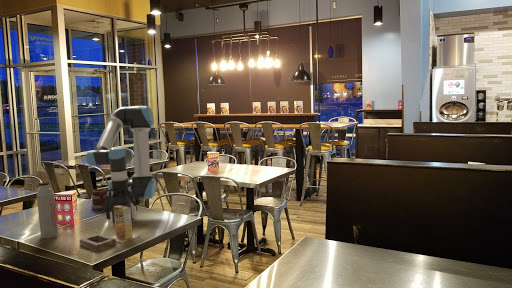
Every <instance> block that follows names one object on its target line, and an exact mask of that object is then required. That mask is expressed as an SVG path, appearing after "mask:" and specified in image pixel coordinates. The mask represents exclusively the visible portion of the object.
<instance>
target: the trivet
mask: <svg viewBox="0 0 512 288" xmlns="http://www.w3.org/2000/svg"><path fill="white" fill-rule="evenodd" d="M132 236H133V237H132V238H129V239H124V238H120V237H117V236H116V235H114V236H110V237H111V238H115V239H116V243H119V244H123V243H126V242H130V241H133V240H135V239H138V238H140V237H141V235H140V234H136V233H132Z"/></svg>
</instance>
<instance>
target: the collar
mask: <svg viewBox="0 0 512 288" xmlns="http://www.w3.org/2000/svg"><path fill="white" fill-rule="evenodd" d="M111 237H112V236H108V235H104V234H102V233H101V234H100V233H96V234H93V235H89V236H86V237H83V238H80V239H79V246H80V247H83V248H85V247H86V249H87V250H92V251H93V252H97V253H98V252H101V251H104V250H106V249H109V248H111V247H115V246H117V242H116V239H115V238H111Z"/></svg>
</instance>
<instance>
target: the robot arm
mask: <svg viewBox="0 0 512 288" xmlns="http://www.w3.org/2000/svg"><path fill="white" fill-rule="evenodd" d="M154 118H155V117H154V113H153V111H152V108H151V107H150V106H147V105H135V106H134V105H133V106H122V107H119V108H117V109H116V110H114V111H113V112H111V113H110V115H108V117H107V119H106V120H105V127H104V130H103V132H102V133H101V135H100V138H99V140H98V141H97V144H96V146H95V148H94V150H89V151H87V152H86V154H85V155H86V157H85V160H86V163H87V165H88V166H96V167H97V166H109V168H110V170H109V171H110V179H111V180H110V181H108V183H107V192H106V199H105V202H104V205H103V208H102V210H101V212H103V213H105V218H106V219H107V224H108V226H111V227H113V226H114V222H115V217H114V206H118V205H122V206H127V207H131V219H138V217H137V212H138V206H139V204H140V203H141V201H140V200H149V199H153V198H154V196H155V194H156V190H157V180H156V178H154V177H153V174H152V173H151V170H150V167H151V166H150V140H149V138H150V137H149V132H150V131H151V129H152V127H153V126H154V124H155V119H154ZM126 127H127V128H129V129H130V131H132V136H133V139H132V140H133V150H131V149H130V148H124V147H121V146H120V147H113V146H114V144H115V142H116V139H117V137H118V135H119V132H120V131H122V130H123V128H126ZM131 161H133V163H134V164H133V166H134V170H133V171H134V174H133V175H132V176H131V179H130V178H129V176H128V170H127V164H129V163H131Z"/></svg>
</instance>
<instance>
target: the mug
mask: <svg viewBox="0 0 512 288" xmlns="http://www.w3.org/2000/svg"><path fill="white" fill-rule="evenodd" d="M107 191H108V188H99V189H98V188H96V189H93V190H92V191H91V192H92V193H91V196H90V198H91V199H92V204H91V206H90V207H91V209H92V210H93V211H102V208H103V205H104V202H105V199H106V192H107Z"/></svg>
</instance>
